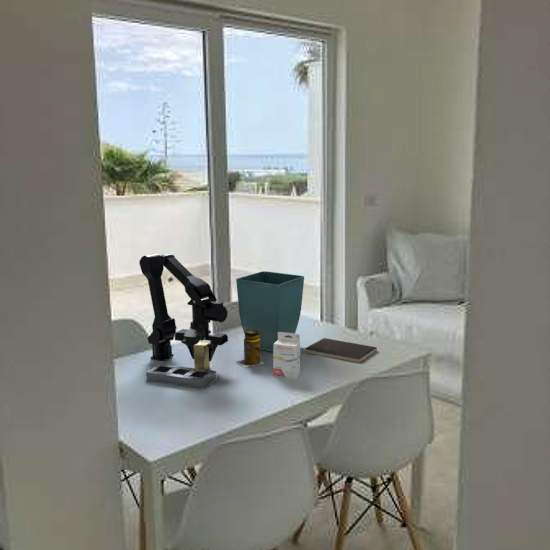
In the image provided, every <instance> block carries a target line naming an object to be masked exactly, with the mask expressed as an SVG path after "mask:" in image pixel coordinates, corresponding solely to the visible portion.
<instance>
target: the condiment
mask: <svg viewBox="0 0 550 550" xmlns="http://www.w3.org/2000/svg"><path fill="white" fill-rule="evenodd" d="M243 358H244V359H243V360H237V361H235V363H236V364H238V365H240V366H241V367H243V368H249V367H254V366H255V367H256V366H260V365H264V364H265V362H264V361H262V360H261V349H260V338H259V331H257V330H247V331H245V334H244V339H243Z"/></svg>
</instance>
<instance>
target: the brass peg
mask: <svg viewBox="0 0 550 550" xmlns="http://www.w3.org/2000/svg"><path fill="white" fill-rule="evenodd" d="M208 344H210V342H204V341H199V343H198V344H195V345H194V359H193V361H194V365H193V366H194V368H196V369H203V370H208V369H209V368H210V366H211V365H210V364H211V363H210V362H211V361H209V348H208V346H207V345H208Z"/></svg>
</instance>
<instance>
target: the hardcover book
mask: <svg viewBox="0 0 550 550" xmlns="http://www.w3.org/2000/svg"><path fill="white" fill-rule="evenodd" d="M377 349H378V348H377V346H371V345H366V344H360V343H356V342H355V343H354V342H349V341H344V340H339V339H331V338H325V337H322V338H321V339H319V340H318V341H316V342H314V343H312V344H310V345H308V346H307V347H304V350H305V352H306V353H309V354H313V355H318V356H324V357H329V358H334V359H338V360H345V361H348V362H349V361H350V362H353V363H361V362H362V361H364V360H365V359H367V358H368V357H369V356H371V355H372V354H374V353H376V352H377Z"/></svg>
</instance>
